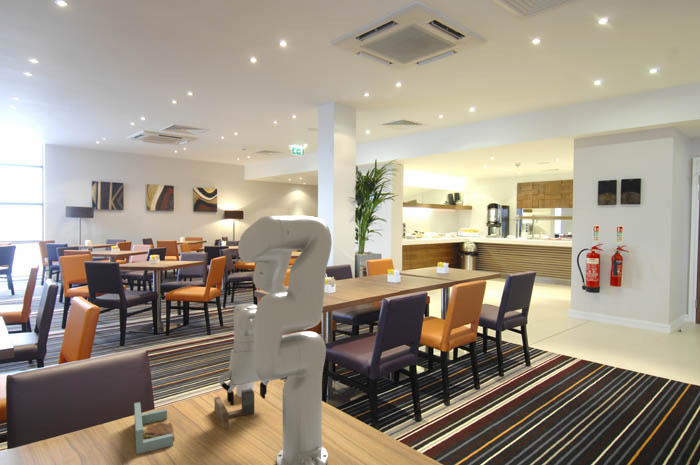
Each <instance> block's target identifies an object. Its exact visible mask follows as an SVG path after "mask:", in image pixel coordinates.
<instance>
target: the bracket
mask: <svg viewBox="0 0 700 465" xmlns="http://www.w3.org/2000/svg"><path fill="white" fill-rule="evenodd" d="M133 404H134V406H133V408H134V433H135V447H136V448H135V450H136V455H139V454H143V453H147V452H151V451H155V450H160V449H164V448H167V447H172V446H174V441H173V434H174V433H173V434H167V435H163V436H159V437H154V438H151V437H149V438H147V439H144V437H143V433H144V428H143V425H146V424H150V423H156V422H160V421H165V420H167V419H168V410H167V408H163V409H159V410H154V411H148V412H144V413H142V405H141V402H139V401H138V402H133Z"/></svg>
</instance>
